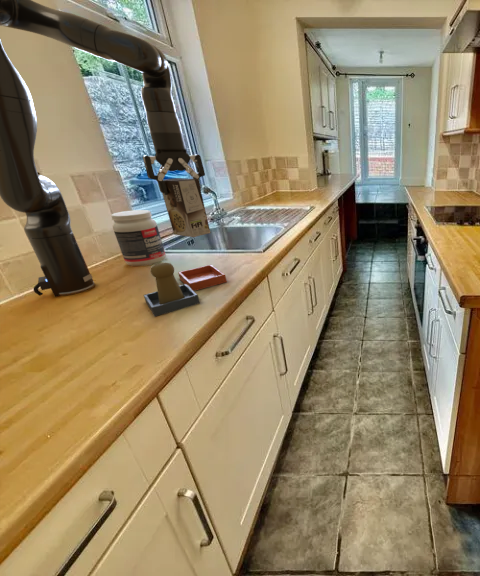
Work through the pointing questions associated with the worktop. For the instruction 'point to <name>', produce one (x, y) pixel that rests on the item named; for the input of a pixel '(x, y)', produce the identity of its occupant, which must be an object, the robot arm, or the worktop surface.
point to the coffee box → (186, 207)
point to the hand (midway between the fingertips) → (182, 193)
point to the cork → (166, 283)
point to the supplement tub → (138, 237)
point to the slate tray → (158, 309)
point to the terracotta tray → (202, 277)
